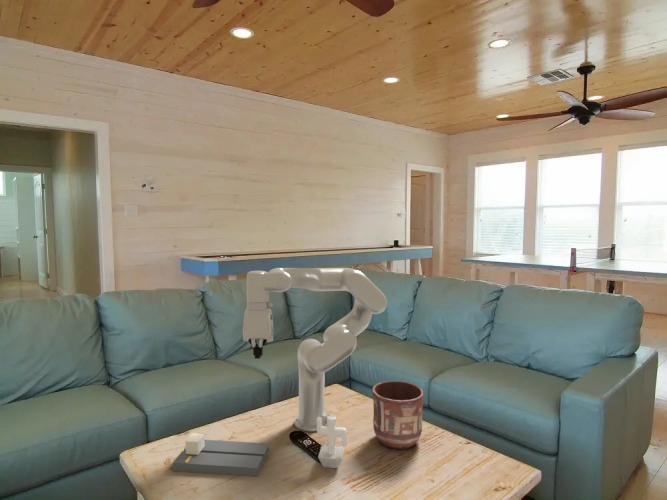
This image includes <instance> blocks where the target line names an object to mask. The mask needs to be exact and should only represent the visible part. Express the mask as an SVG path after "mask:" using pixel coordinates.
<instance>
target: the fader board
mask: <svg viewBox="0 0 667 500" xmlns="http://www.w3.org/2000/svg"><path fill="white" fill-rule="evenodd" d="M204 442H205V446H204V448H203V449H202V450H201V451H200V453H199V454H198V455H195V454H186V447H185V446H184V449H183V451H181V452H180V453H179V454H178V456H177V457H176V458H175V459H174V460H173V462H172V464H171V465H172V471H173V472H189V473H199V474H200V473H201V474H204V473H205V474H217V475H229V476H230V475H231V476H232V475H233V476H244V477H245V476H246V477H247V476H248V477H258V475H259V473H260V472H261V469H262V468H263V466H264V463H265V461H266V458H267V457H268V454H269V452H270V442H269V443H268V442H267V443H266V442H265V443H264V442H251V441H250V442H249V441H236V440H235V441H233V440H232V441H231V440H218V439H217V440H215V439H204Z"/></svg>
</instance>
